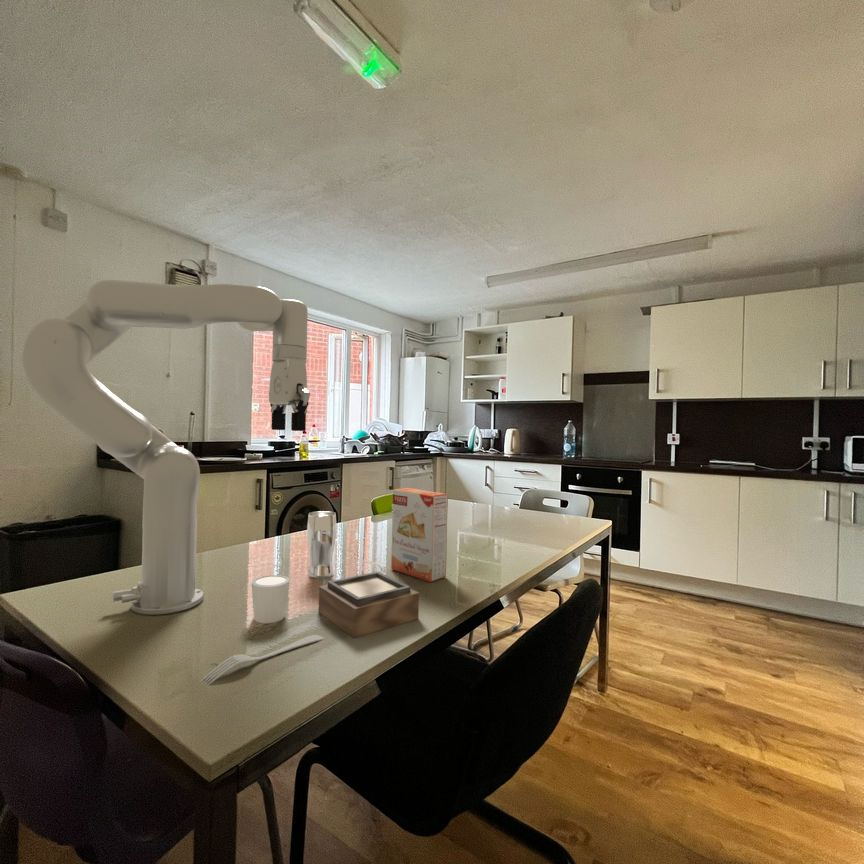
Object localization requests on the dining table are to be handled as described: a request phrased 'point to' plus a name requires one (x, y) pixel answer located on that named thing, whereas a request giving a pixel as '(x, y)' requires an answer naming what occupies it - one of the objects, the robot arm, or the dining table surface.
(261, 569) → the dining table surface
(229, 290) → the robot arm
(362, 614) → the display plinth
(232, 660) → the fork
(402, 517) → the cracker box
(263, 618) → the white cylinder
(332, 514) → the beer glass
